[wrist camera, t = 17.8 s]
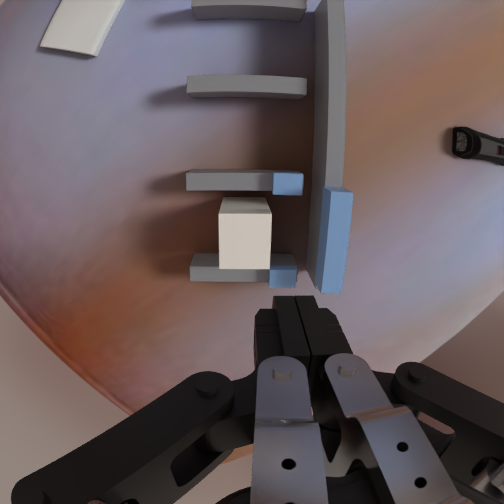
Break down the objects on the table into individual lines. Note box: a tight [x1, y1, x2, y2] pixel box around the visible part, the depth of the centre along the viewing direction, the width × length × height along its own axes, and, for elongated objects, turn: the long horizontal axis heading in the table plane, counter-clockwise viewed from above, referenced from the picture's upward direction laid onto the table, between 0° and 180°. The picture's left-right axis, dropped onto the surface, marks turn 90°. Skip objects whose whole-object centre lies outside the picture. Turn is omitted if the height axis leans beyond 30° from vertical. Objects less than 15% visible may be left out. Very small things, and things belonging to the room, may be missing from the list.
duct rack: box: [186, 0, 353, 294], centre depth 24 cm, size 27×13×7 cm, turn 179°
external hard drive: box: [40, 0, 125, 57], centre depth 21 cm, size 2×8×12 cm
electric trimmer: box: [452, 127, 504, 166], centre depth 27 cm, size 4×16×3 cm, turn 91°
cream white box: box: [219, 197, 272, 269], centre depth 28 cm, size 4×4×7 cm
